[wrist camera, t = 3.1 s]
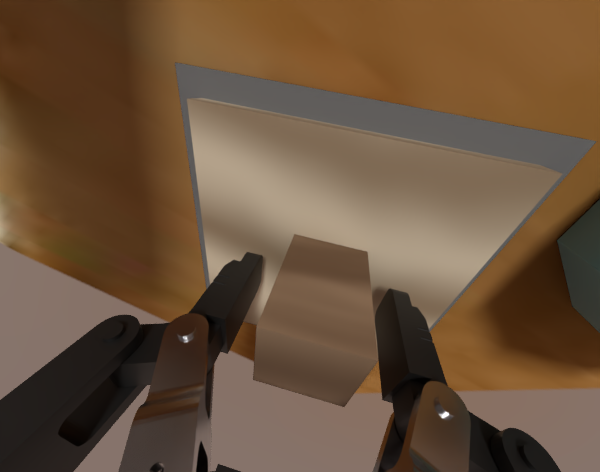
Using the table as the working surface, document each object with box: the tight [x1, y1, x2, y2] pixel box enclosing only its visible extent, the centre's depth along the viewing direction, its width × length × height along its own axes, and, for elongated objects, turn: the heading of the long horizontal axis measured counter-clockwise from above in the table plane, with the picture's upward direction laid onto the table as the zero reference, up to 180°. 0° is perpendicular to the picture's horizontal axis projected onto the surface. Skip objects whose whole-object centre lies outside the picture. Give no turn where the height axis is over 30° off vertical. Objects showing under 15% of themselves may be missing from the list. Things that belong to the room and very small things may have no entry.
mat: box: [175, 63, 596, 332], centre depth 12 cm, size 15×15×1 cm
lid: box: [187, 98, 562, 407], centre depth 10 cm, size 13×13×6 cm
